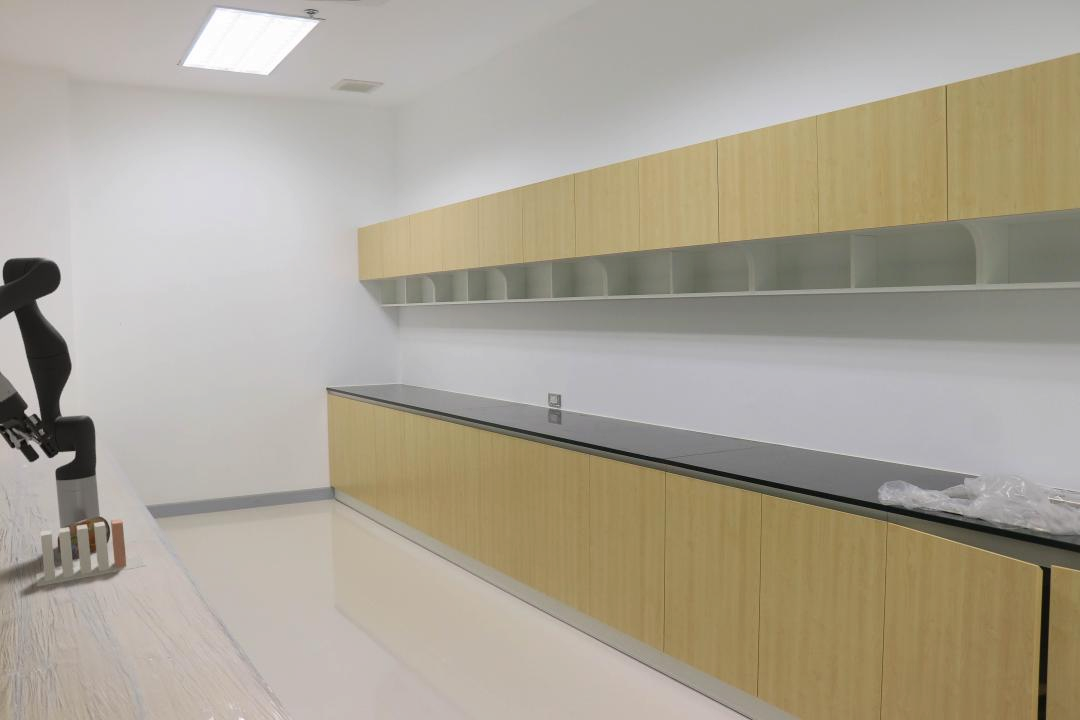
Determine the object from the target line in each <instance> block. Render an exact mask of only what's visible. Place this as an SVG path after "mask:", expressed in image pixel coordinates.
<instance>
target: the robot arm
mask: <svg viewBox="0 0 1080 720" xmlns="http://www.w3.org/2000/svg"><path fill="white" fill-rule="evenodd" d="M2 281H3V285H0V320H2V319H3V318H5V317H6V316H8V315H9V314H11V313H13V312H14V315H15V318H16V321H17V324H18V328H19V331H20V335H21V338H22V341H23V346H24V351H25V355H26V359H27V363H28V367H29V370H30V373H31V377H32V380H33V385H34V389H35V393H36V397H37V401H38V402H37V403H38V407H39V413H40V414H39V415H40V417H39V416H38V414H36V413H33V414H32V415H30V416H29V415H27V414H26V413H25V411H26V410H27V409H28V408H29V405H28V403H27V402H26V401H25V399H24V398H23V397H22V396H21V394H20V392H19V391H18V390H17V389H16V388H15V387H14V385H13V383H11V382H10V380H9V379H8V378H7V377H6V376H5V374H3V373H2V372H1V371H0V435H1V436H2V438H3V439H4V441H5V442H6V443H7V444H8V446H9V447H10V448H12V449H13V450H14V449H16V450H18V451H20V453H22V454H23V456H24V457H25V458H26V460H27V461H28V462H29V463H33V462H34V463H35V461H37V460H39V459H40V455H39V454H38V452H37V451H36V449H34V447H33V446H32V445H31V444H30V443H29V441H30V442H31V441H32V442H34V443H35V444H37V445H38V447H39V448H40V449H41V450H42V452H43V453H44V455H46V457H47V458H48V459H53V458H54V457H56V456H57V455H59V453H69V452H71V453H72V452H74V453H75V454H74V459H72V460H71V461H70V462H68V463H66V464H63V465H61V466H59V467H57V468H56V469H55V473H54V474H55V483H56V485H55V487H56V493H57V495H56V496H57V507H58V508H57V509H58V518H59V527H60V528H64V527H66V526H68V525H71V524H74V523H77V522H79V521H82V520H85V519H88V518H93V517H101V516H100V514H101V513H100V504H99V494H98V492H99V491H98V480H97V470H96V468H97V449H96V448H97V447H96V446H97V443H96V428H95V424H94V421H93V419H92V418H91V417H90V416H88V415H84V414H83V415H82V414H81V415H71V416H70V415H68V416H63V415H62V412H61V406H60V400H61V396H62V393H63V391H64V388H65V387H66V384H67V382H68V380H69V377H70V376H71V372H72V368H73V366H72V365H73V364H72V359H71V355H70V352H69V347H68V344H67V342H66V340H65V338H64V337H63V335H61V333H60V332H59V331H58V330H57V329H56V327H54V325H53V324H52V323H51V322H50V321H49V320H47V318H46V317H45V316H44V314H43V313H42V311H41V309H40V307H39V304H38V302H37V300H39V299H41V298H43V297H46V296H48V295H51V294H53V293H54V292H56V290H57V289H58V288H59V287H60V284H61V281H62V275H61V270H60V268H59V266H58V264H57V263H56V262H55V260H52V259H50V258H47V257H41V256H40V257H16V258H10V259H7V260H6V261H5V263H4V264H3V266H2ZM60 528H59V529H60Z"/></svg>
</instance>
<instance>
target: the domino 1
mask: <svg viewBox="0 0 1080 720" xmlns="http://www.w3.org/2000/svg"><path fill="white" fill-rule="evenodd" d="M40 540H41V549H42V550H41V552H42V553H41V554H42V560H43V563H42V564H43V573H44V575H45V581H48V580H53V579H56V577H55V570H56V569H55V568H56V567H55V566H56V565H55V558H54V546H53V535H52V530H51V529H50V530H42V531H40Z"/></svg>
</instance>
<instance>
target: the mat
mask: <svg viewBox="0 0 1080 720" xmlns="http://www.w3.org/2000/svg"><path fill="white" fill-rule="evenodd" d="M108 561H109V569H106V570H101V571H99V569H98V565H97V562H94V563H93V562H92V563H91V570H92V572H90V573H85V574H81V570H80V565H77V566H73V571H74V576H69V577H63V571H62V568H61V569H55V577H56V579H53V580H48V581H45V575H44V572H40V573H36V587H41V586H47V585H54V584H58V583H63V582H68V581H74V580H79V579H83V578H84V579H85V578H90V577H95V576H100V575H105V574H110V573H115V572H121V571H126V570H132V569H137V568H141V567H142V568H143V567H146V565H145V563H144V561H143V560H142V557H141V556H140V554H139V555H132V556H126V566H122V567H116V565H115V562H114V559H110V560H109V559H108Z"/></svg>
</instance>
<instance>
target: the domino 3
mask: <svg viewBox="0 0 1080 720" xmlns="http://www.w3.org/2000/svg"><path fill="white" fill-rule="evenodd" d="M76 527H77V538H78V549H79V557H78V558H79V566H80V570H81V574H85V573H90V572H92V570H91V564H92V559H91V552H90V547H89V536H88V527H87V525H86V524H85V525H79V526H76Z"/></svg>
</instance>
